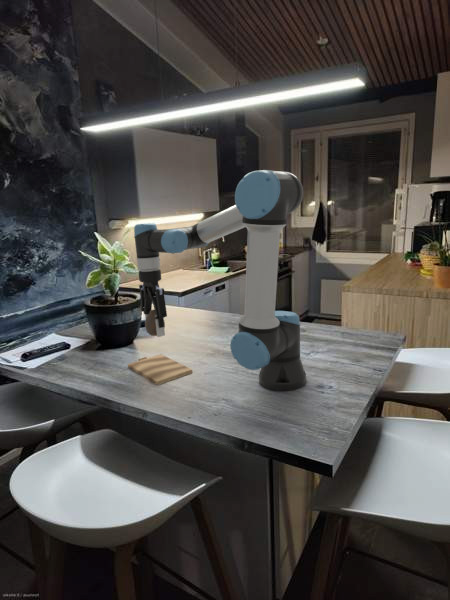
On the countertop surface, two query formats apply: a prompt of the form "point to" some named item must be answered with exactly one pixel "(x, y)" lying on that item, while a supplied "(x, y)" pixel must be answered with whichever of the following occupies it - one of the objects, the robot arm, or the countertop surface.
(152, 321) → the vase
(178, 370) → the board
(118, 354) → the countertop surface
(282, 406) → the countertop surface
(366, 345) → the countertop surface
